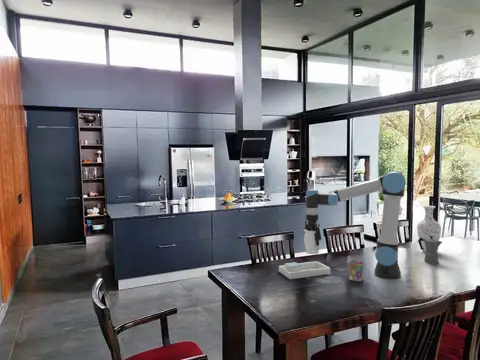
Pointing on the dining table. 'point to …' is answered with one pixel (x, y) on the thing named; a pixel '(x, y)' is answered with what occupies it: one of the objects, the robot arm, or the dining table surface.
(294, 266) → the lid
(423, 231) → the vase
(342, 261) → the dining table surface
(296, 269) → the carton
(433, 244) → the coffeepot
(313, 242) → the jar
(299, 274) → the white rectangular tray
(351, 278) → the candy bag
